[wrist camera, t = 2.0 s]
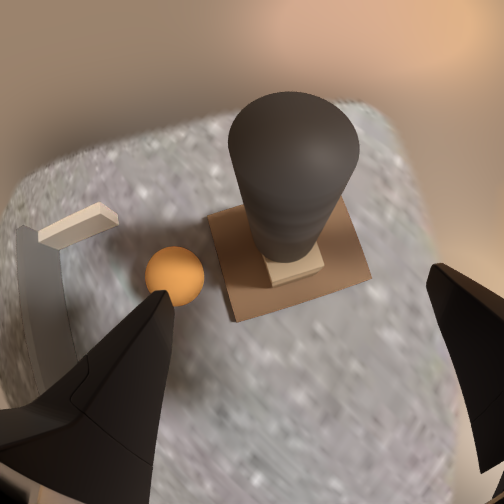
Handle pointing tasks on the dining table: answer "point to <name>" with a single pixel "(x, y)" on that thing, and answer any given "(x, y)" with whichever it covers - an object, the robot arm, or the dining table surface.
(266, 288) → the brown rectangular plate
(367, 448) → the dining table surface
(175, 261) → the ball
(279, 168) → the ball
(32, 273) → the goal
